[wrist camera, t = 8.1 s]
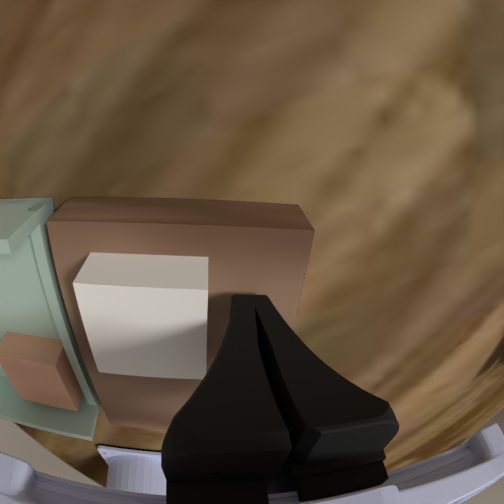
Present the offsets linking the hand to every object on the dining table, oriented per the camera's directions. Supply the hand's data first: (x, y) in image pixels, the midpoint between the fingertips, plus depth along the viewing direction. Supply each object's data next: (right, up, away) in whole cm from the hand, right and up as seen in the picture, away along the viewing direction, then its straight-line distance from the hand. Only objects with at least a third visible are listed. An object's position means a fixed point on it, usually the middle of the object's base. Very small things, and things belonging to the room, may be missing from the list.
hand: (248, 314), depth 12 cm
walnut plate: (-4, -1, +4) cm, 5 cm away
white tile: (-4, 0, 0) cm, 4 cm away
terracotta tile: (-13, -4, +4) cm, 14 cm away
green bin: (-15, -1, +2) cm, 15 cm away
